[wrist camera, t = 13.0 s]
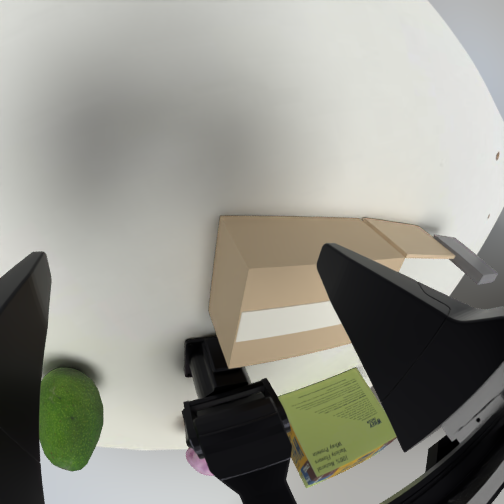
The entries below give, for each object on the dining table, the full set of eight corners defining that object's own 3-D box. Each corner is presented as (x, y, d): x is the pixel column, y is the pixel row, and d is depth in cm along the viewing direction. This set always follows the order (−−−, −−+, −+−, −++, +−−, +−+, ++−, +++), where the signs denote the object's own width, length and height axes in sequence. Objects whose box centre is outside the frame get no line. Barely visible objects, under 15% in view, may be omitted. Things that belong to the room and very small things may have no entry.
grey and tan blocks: (440, 226, 34) (498, 273, 26) (436, 234, 35) (493, 281, 26) (365, 214, 28) (442, 279, 20) (361, 224, 29) (435, 291, 20)
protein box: (275, 396, 44) (316, 478, 32) (356, 366, 48) (401, 433, 36) (272, 420, 50) (304, 489, 38) (342, 393, 54) (379, 453, 42)
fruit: (30, 349, 24) (20, 453, 14) (98, 354, 27) (105, 461, 18) (46, 389, 27) (46, 477, 18) (104, 392, 31) (115, 482, 21)
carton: (329, 296, 34) (362, 340, 28) (208, 310, 28) (229, 369, 23) (359, 218, 28) (406, 258, 23) (220, 215, 23) (249, 269, 18)
